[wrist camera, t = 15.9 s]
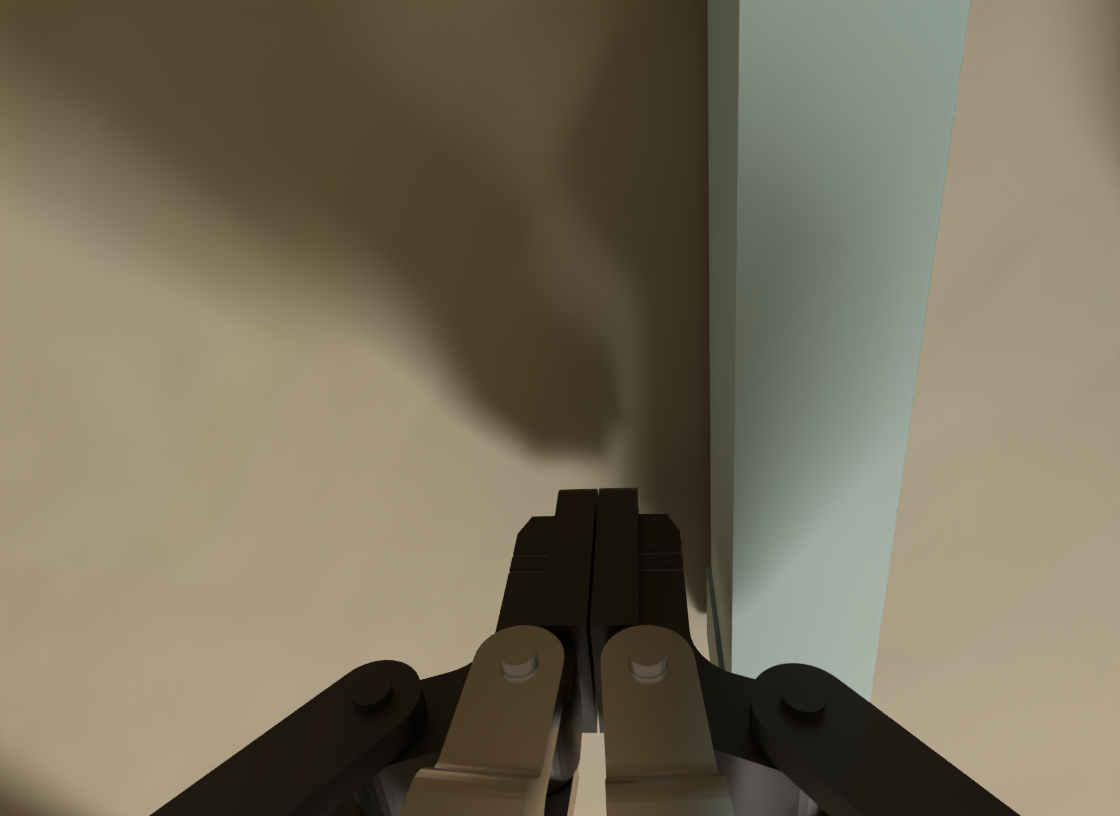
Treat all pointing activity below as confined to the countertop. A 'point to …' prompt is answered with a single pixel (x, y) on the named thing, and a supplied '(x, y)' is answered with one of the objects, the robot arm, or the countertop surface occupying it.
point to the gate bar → (817, 311)
